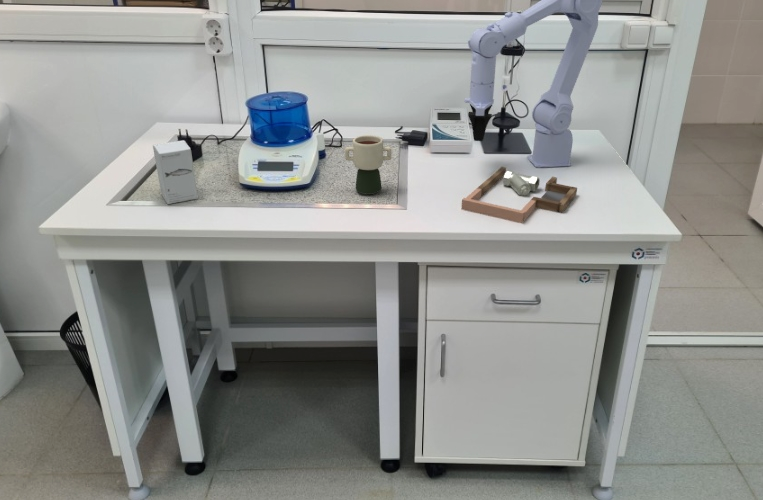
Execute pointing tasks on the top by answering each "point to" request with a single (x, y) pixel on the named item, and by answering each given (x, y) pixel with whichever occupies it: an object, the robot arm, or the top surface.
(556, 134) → the robot arm
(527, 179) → the pipe fitting
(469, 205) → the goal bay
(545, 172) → the top surface
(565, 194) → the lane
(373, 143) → the character mug
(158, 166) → the supplement box
